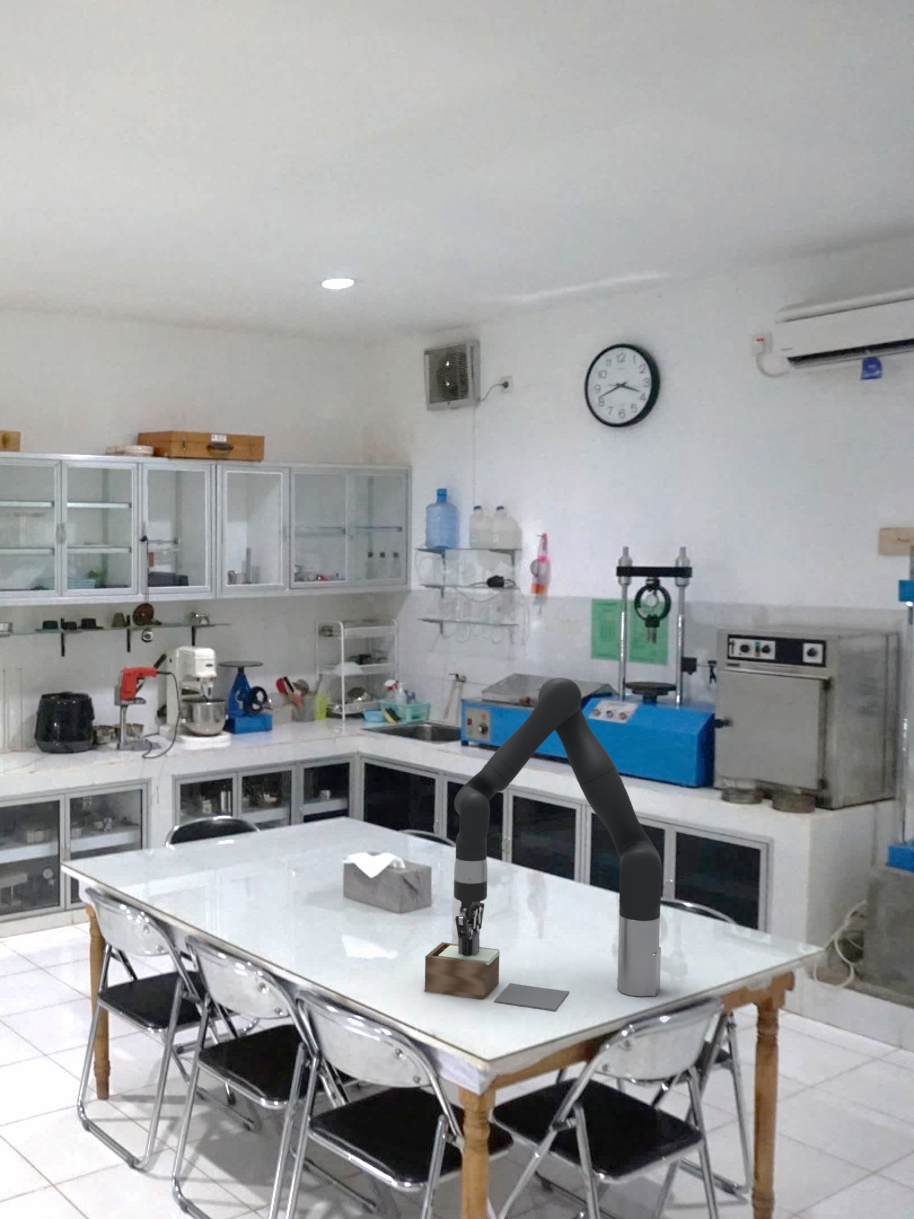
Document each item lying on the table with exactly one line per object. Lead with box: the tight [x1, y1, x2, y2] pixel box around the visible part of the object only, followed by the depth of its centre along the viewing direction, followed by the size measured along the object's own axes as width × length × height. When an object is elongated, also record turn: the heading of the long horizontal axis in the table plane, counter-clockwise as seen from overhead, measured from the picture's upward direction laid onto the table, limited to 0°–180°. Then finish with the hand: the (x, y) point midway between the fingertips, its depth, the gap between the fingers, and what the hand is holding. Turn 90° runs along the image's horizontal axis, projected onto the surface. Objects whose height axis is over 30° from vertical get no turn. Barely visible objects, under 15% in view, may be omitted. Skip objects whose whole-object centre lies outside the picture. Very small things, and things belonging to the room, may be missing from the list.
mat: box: [493, 982, 570, 1012], centre depth 272 cm, size 14×12×1 cm
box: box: [424, 941, 500, 1001], centre depth 278 cm, size 14×11×8 cm
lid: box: [438, 932, 500, 965], centre depth 277 cm, size 12×8×6 cm, turn 70°
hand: (469, 952), depth 277 cm, fingers closed on lid, 3 cm apart
